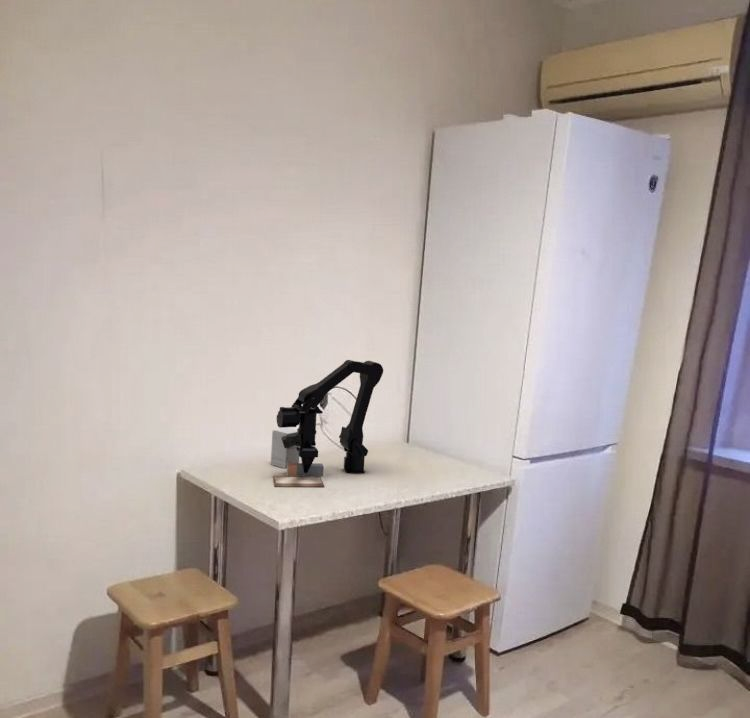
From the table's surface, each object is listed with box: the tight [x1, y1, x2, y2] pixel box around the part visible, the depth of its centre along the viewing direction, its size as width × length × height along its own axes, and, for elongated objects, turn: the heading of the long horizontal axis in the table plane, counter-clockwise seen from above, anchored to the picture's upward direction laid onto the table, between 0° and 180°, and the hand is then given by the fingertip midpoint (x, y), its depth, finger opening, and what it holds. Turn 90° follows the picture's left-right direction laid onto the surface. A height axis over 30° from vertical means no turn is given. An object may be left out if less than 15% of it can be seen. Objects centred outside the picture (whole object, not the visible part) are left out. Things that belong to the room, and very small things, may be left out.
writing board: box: [272, 475, 325, 488], centre depth 234 cm, size 16×11×1 cm
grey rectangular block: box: [286, 462, 324, 478], centre depth 243 cm, size 12×4×4 cm, turn 101°
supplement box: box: [270, 427, 300, 469], centre depth 254 cm, size 7×7×13 cm
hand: (305, 471), depth 243 cm, fingers closed on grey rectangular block, 4 cm apart
